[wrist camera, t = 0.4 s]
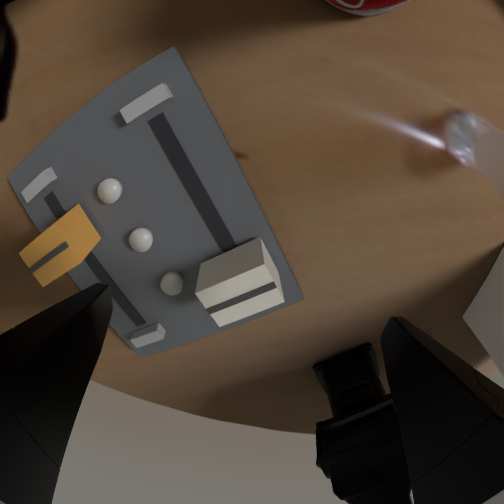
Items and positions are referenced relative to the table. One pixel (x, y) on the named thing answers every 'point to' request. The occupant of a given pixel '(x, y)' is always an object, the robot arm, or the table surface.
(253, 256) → the ivory fader
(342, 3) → the soda can
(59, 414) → the robot arm
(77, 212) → the orange fader
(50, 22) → the table surface
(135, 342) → the console
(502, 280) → the storage box
